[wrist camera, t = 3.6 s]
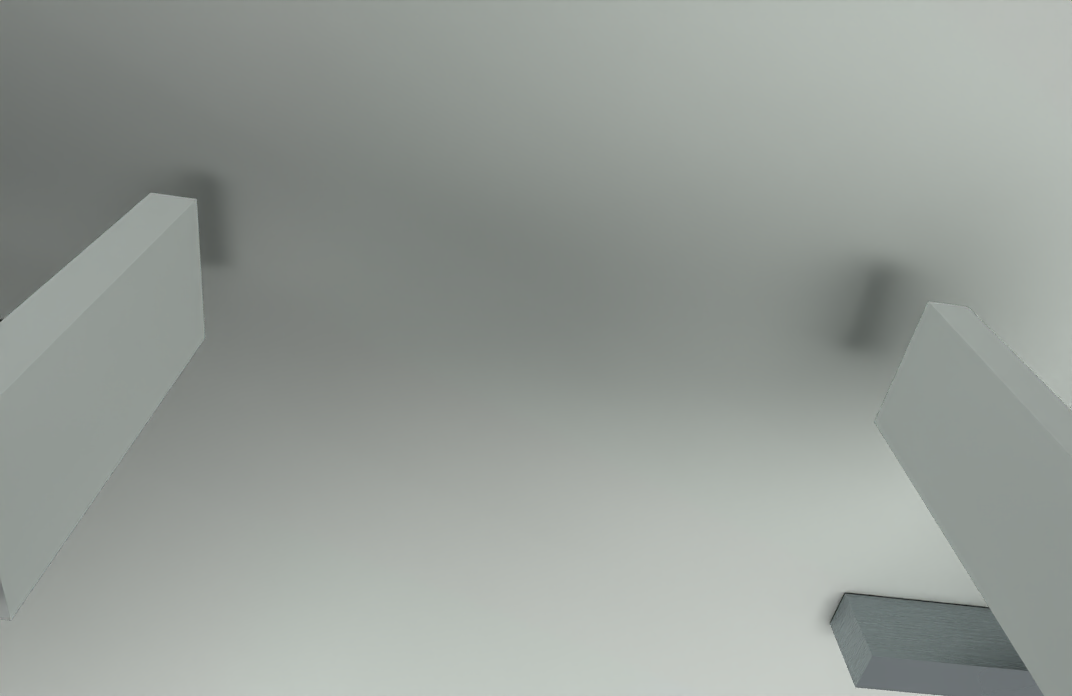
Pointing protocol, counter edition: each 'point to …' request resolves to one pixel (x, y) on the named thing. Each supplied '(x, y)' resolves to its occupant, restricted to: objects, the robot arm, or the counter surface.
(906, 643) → the dark grey piece
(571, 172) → the counter surface
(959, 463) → the robot arm
